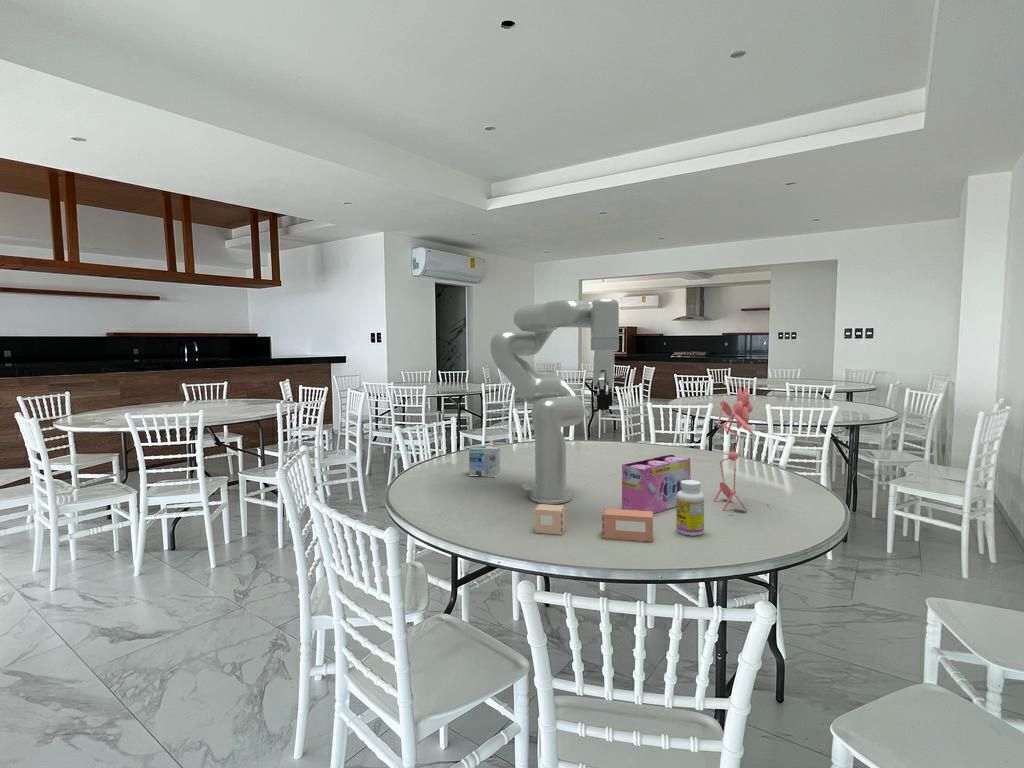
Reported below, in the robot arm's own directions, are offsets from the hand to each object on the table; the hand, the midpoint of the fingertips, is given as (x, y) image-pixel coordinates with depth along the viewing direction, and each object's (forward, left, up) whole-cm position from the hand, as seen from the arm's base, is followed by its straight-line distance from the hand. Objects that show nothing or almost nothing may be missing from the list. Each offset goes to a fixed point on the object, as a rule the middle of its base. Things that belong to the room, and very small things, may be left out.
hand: (604, 407), depth 148 cm
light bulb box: (-48, +40, -31) cm, 70 cm away
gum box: (+14, +13, -31) cm, 36 cm away
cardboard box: (+7, -15, -30) cm, 35 cm away
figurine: (+38, +19, -31) cm, 52 cm away
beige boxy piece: (-12, -15, -30) cm, 36 cm away
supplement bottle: (+22, -8, -31) cm, 38 cm away
